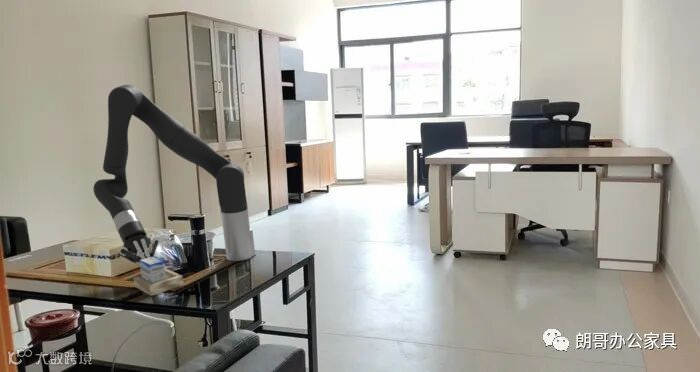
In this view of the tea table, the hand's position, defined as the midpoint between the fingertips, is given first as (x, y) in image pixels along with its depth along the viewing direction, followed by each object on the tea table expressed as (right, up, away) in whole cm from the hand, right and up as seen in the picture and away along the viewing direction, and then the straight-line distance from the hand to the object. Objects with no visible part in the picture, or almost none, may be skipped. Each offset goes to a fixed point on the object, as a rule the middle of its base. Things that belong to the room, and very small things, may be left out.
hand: (150, 269), depth 168 cm
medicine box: (+3, -5, -3) cm, 6 cm away
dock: (+4, -5, -3) cm, 6 cm away
